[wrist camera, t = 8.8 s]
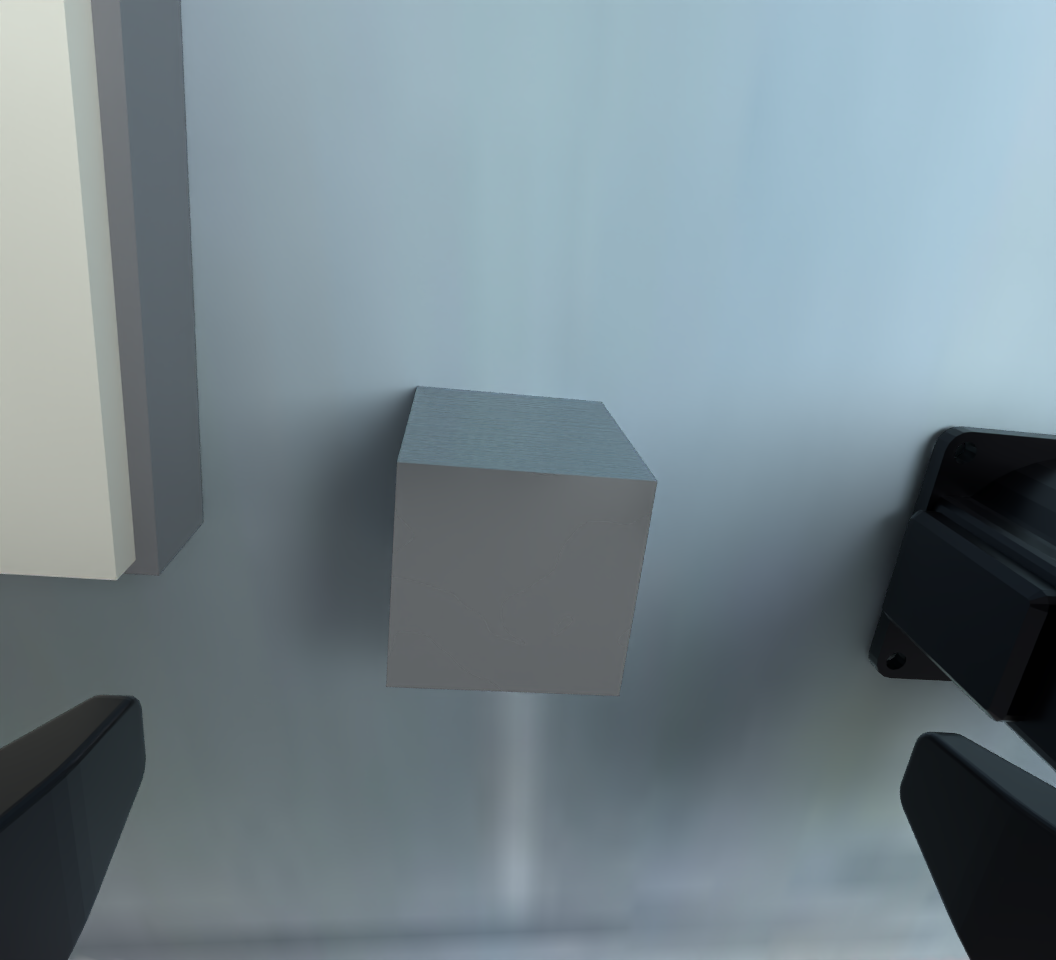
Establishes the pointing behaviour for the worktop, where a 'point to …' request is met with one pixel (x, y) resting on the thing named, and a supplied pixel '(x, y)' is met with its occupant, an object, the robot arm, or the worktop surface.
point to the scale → (95, 291)
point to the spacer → (515, 545)
